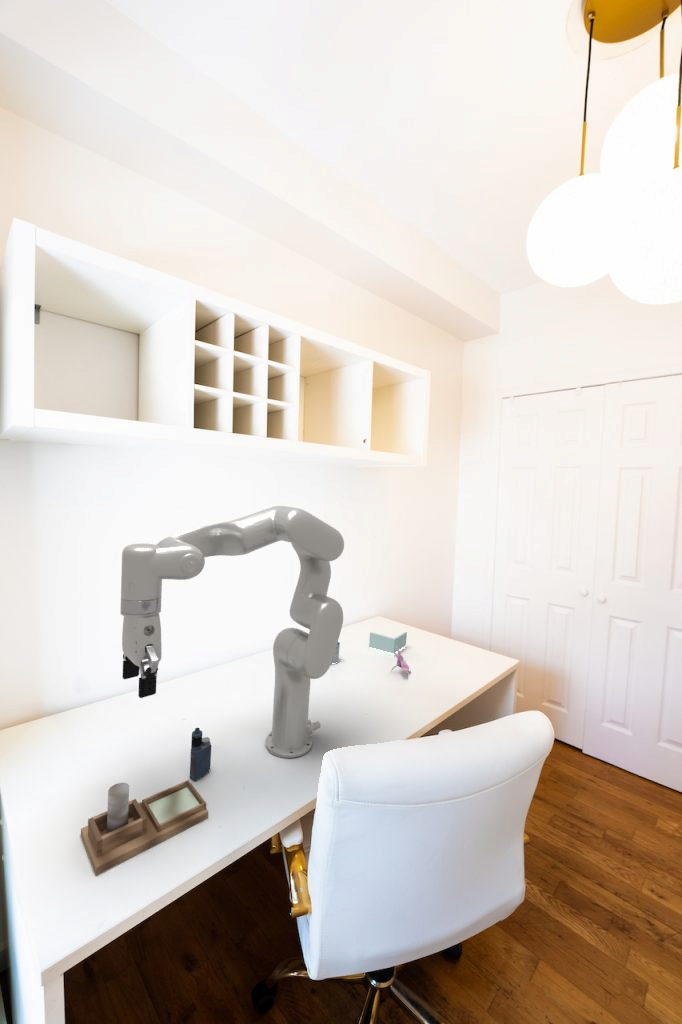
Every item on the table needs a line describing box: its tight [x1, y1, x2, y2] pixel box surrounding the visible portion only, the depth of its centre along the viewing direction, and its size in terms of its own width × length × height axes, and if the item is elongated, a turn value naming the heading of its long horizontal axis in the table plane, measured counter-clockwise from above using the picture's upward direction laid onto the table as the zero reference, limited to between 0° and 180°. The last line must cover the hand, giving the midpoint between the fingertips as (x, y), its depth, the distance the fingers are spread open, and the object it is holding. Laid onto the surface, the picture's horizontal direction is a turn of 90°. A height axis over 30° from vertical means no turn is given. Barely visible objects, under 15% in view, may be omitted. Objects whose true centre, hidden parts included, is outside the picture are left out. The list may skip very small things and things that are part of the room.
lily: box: [391, 646, 410, 674], centre depth 166 cm, size 12×12×10 cm
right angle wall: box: [368, 631, 408, 653], centre depth 190 cm, size 12×12×8 cm
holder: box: [80, 779, 209, 876], centre depth 87 cm, size 21×11×10 cm, turn 133°
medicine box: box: [331, 641, 341, 664], centre depth 173 cm, size 8×4×9 cm, turn 40°
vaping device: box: [189, 727, 212, 782], centre depth 103 cm, size 3×5×12 cm, turn 146°
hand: (138, 686), depth 89 cm, fingers open, 9 cm apart
